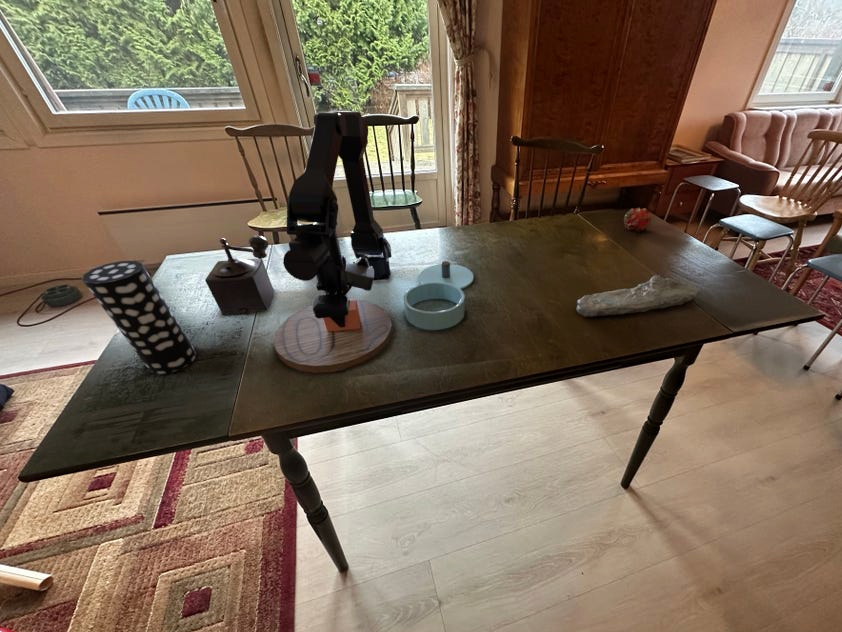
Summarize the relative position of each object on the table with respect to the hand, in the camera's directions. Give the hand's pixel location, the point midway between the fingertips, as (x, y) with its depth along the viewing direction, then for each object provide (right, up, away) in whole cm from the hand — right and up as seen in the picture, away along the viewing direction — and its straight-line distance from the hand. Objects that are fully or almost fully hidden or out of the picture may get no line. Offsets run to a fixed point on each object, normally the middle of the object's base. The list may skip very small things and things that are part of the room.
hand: (343, 321), depth 84 cm
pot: (+20, +3, +8) cm, 22 cm away
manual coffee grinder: (-25, +6, +11) cm, 28 cm away
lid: (+21, +15, +21) cm, 34 cm away
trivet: (-2, -3, +1) cm, 4 cm away
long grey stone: (+72, +6, +14) cm, 73 cm away
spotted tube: (-33, -9, -7) cm, 34 cm away
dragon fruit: (+88, +40, +55) cm, 111 cm away
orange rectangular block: (0, -1, +1) cm, 1 cm away
